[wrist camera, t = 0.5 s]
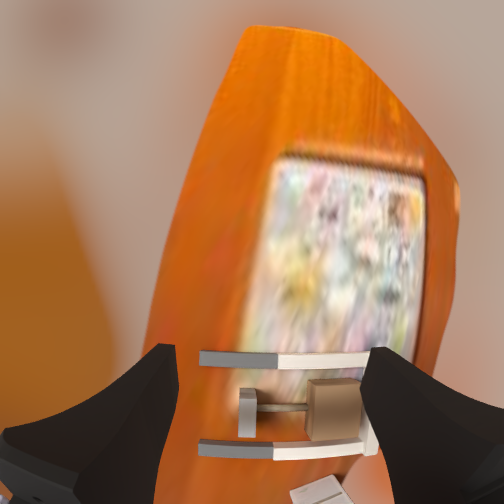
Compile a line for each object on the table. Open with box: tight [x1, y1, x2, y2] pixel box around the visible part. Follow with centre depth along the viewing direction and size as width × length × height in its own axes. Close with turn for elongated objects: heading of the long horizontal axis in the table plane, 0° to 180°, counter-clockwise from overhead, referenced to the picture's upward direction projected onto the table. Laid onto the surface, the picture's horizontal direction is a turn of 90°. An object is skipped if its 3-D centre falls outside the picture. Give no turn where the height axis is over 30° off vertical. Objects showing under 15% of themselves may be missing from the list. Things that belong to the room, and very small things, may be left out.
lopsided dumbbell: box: [238, 378, 362, 441], centre depth 28 cm, size 6×12×5 cm, turn 88°
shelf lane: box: [273, 351, 379, 460], centre depth 29 cm, size 12×12×3 cm
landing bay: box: [198, 350, 278, 458], centre depth 30 cm, size 12×8×2 cm, turn 178°
